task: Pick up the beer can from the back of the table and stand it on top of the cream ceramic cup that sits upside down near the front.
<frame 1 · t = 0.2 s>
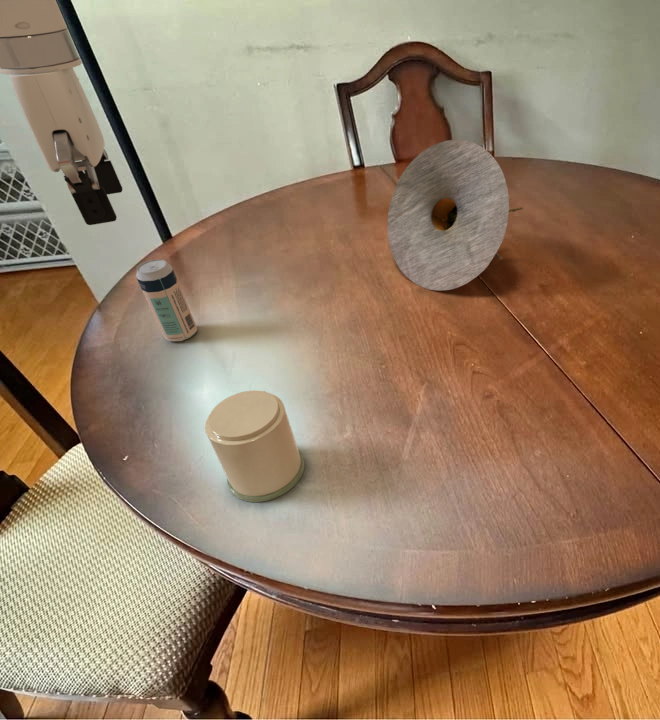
hand: (106, 207, 69), 22 cm above the table, tool pointing down, fingers open, 9 cm apart
beer can: (182, 335, 86), on the table
cup: (267, 472, 64), on the table
disc: (458, 266, 102), on the table
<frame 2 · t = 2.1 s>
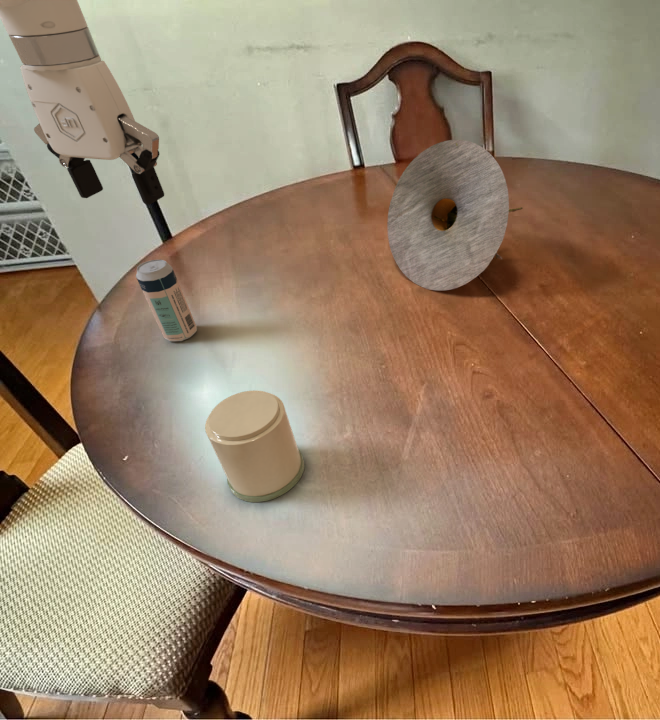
hand: (123, 197, 73), 22 cm above the table, tool pointing down, fingers open, 9 cm apart
nothing on the table moved.
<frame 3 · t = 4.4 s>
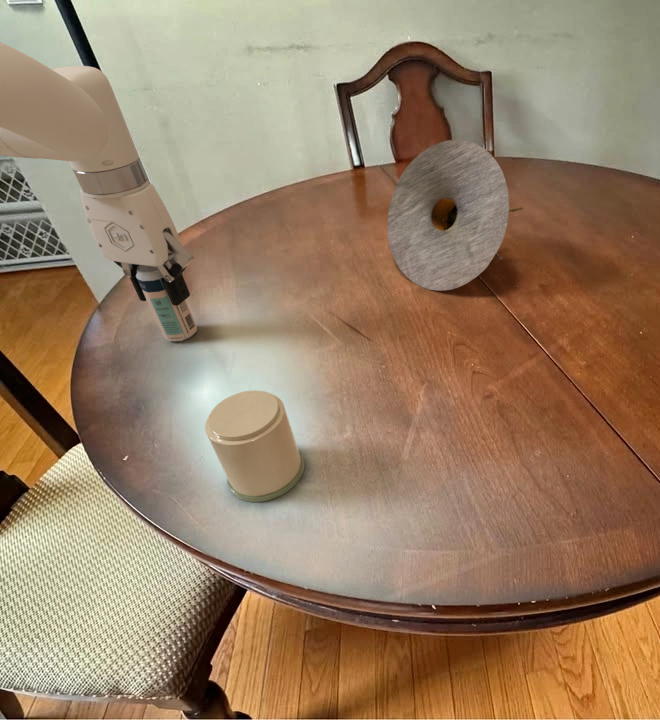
hand: (165, 297, 82), 7 cm above the table, tool pointing down, fingers closed on beer can, 4 cm apart
beer can: (182, 335, 86), on the table, touching gripper
everything else where it was.
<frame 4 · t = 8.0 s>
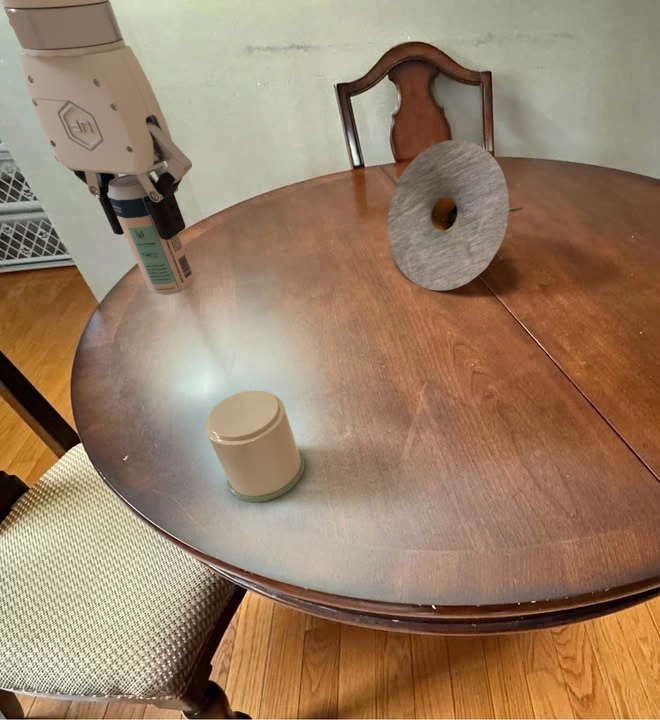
hand: (150, 229, 58), 25 cm above the table, tool pointing down, fingers closed on beer can, 4 cm apart
beer can: (174, 287, 62), point 18 cm above the table, touching gripper
everything else where it was.
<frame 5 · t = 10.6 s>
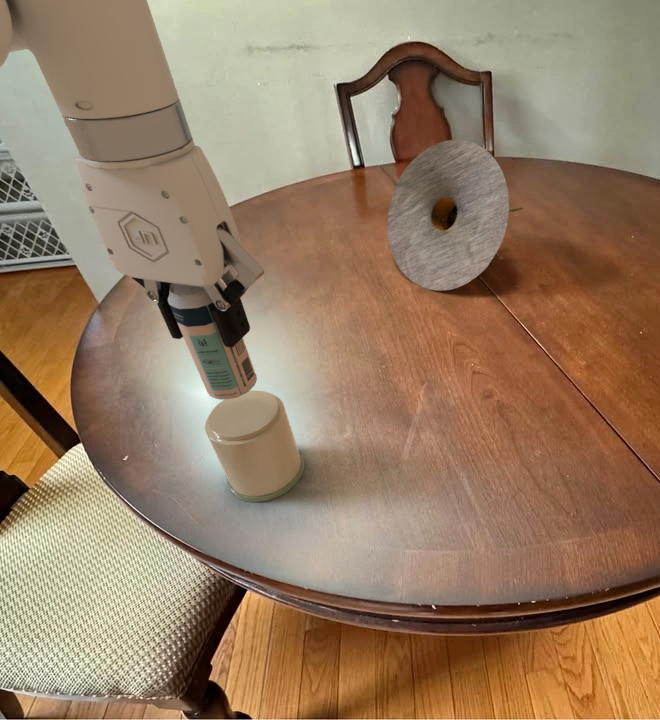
hand: (211, 332, 52), 20 cm above the table, tool pointing down, fingers closed on beer can, 4 cm apart
beer can: (234, 388, 56), point 13 cm above the table, touching gripper
everything else where it was.
when the fingers open (16 cm above the table, at t = 12.1 s): beer can stays where it is, resting on cup.
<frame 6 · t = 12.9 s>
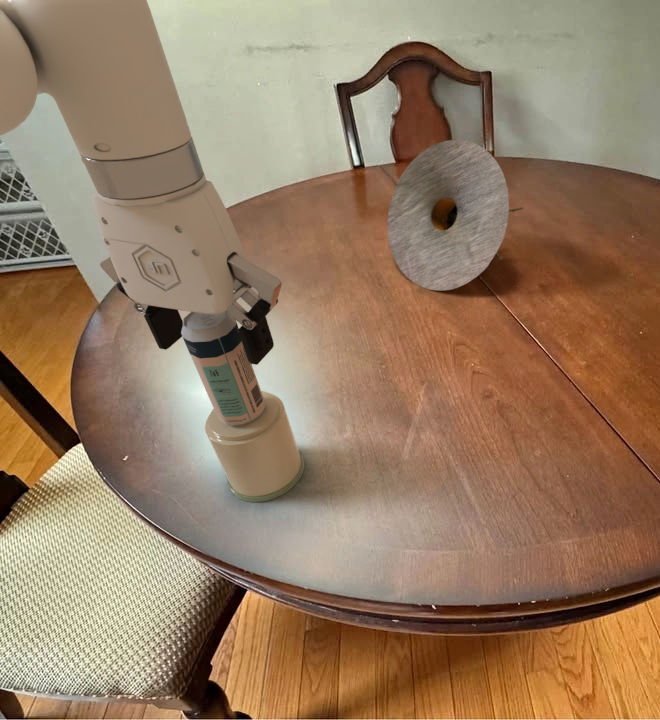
hand: (217, 348, 53), 18 cm above the table, tool pointing down, fingers open, 9 cm apart
beer can: (243, 413, 58), point 9 cm above the table, touching cup
everything else where it was.
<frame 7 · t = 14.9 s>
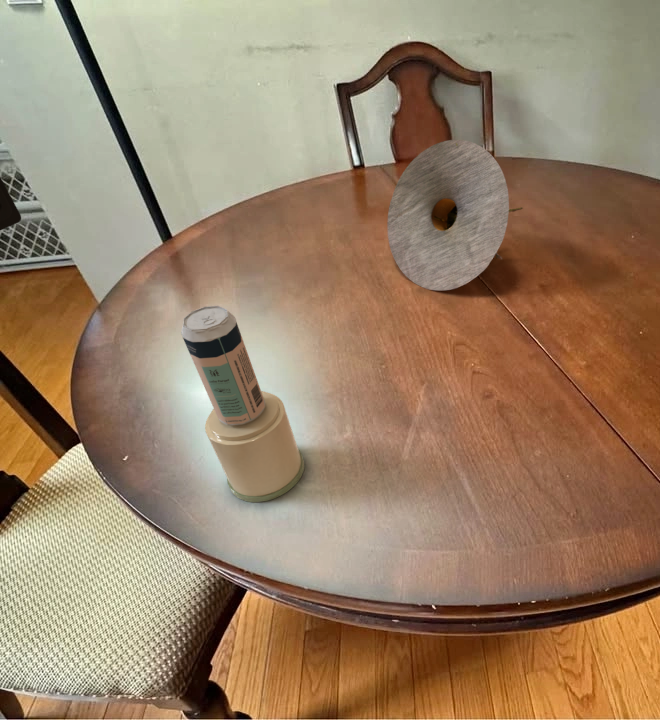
nothing on the table moved.
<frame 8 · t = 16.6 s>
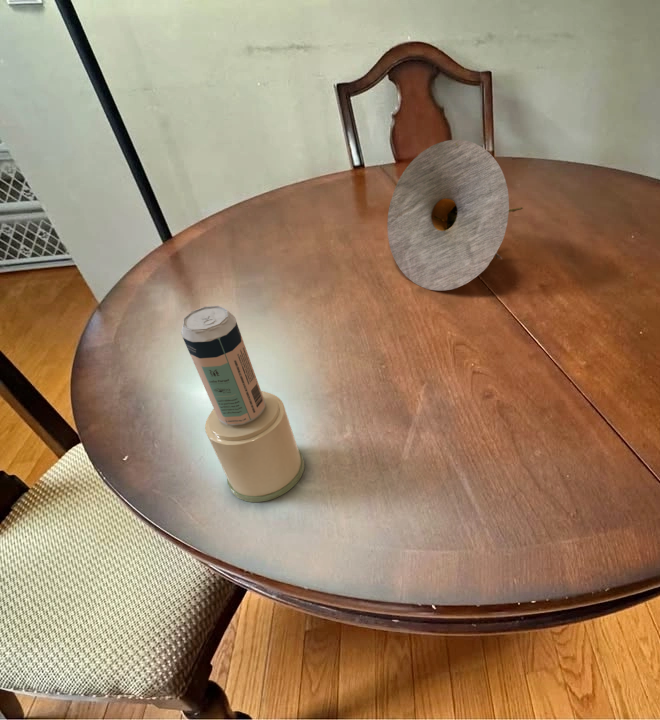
nothing on the table moved.
at the end: beer can 0.1 cm off-centre on the cup, point 9.4 cm above the cup's base; beer can tilted 0°; the gripper is holding nothing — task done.
